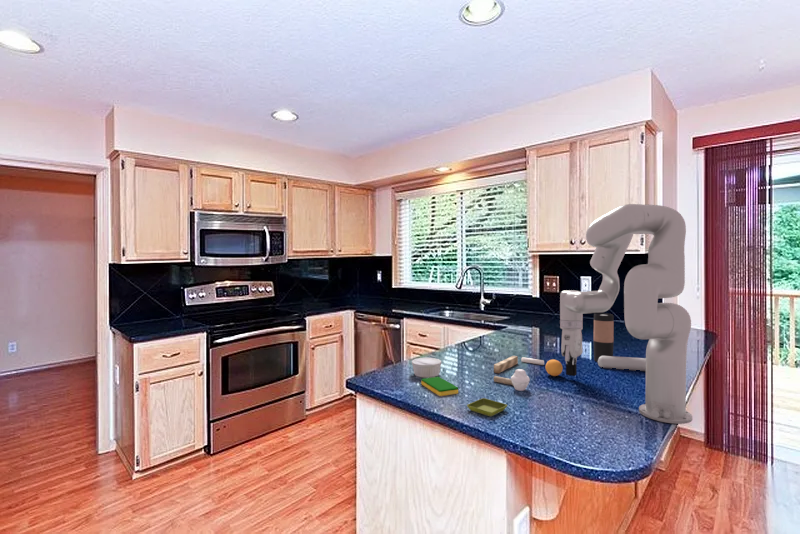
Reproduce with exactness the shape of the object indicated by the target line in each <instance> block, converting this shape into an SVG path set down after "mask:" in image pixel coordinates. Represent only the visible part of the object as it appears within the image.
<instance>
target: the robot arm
mask: <svg viewBox="0 0 800 534" xmlns="http://www.w3.org/2000/svg"><path fill="white" fill-rule="evenodd" d="M686 227H687V226H686V221H685V219H684V217H683V215H682V214H681V213H680V212H679V211H678V210H676V209H675V208H671V207H670V206H664V205H661V204H660V205H658V204H639V203H636V204H635V203H629V204H627V203H626V204H623V205H620V206H618V207H616V208H614V209H613V210H611V211H609V212H607V213H606V214H603V215H601V216H600V217H598V218H597V219H595V220H593V222H591V223H590V225H589V226H588V227H587V229H586V232H585V240H586V242H587V244H589V246H590V247H593V248H594V252H593V254H592V257H591V259H590V260H589V264H590V266H591V268H592V269H594V270H595V271H596V272H598V273H599V274H602V281H601V284H600V286H599V288H598V290H591V291H589V290H588V291H580V290H574V289H573V290H572V289H571V290H570V289H569V290H567V289H566V290H562V291H560V293H559V296H560V297H559V299H560V300H559V302H560V303H559V311H560V312H559V319H560V320H559V324H560V326H559V328H560V329H561V330H562V331H561V346H560V347H561V349H560V350H561V356H562V357H564V361H565V374H566V375H567V376H572V377H575V376H577V362H578V360H577V359H578V357H580V356H581V355H582V354H583V352H584V350H583V334H582V330H583V327H584V326H583V321H584V320H583V319H584V318H583V316H584V315H583V314H586V315H587V314H595V313H605V312H607V311H609V310H610V309H611V308H612V307H613V305H614V303H615V301H616V299H617V297H618V295H619V292H620V289H621V287H620V277H619V274H618V269H619V267H620V265H621V264H622V263H621V262H623V259H624V256H625V254H626V252H627V250H628V248H629V246H630V244H631V241H632V240H633V236H634V235H652V236H653V237H652V239H651V241H650V243H649V246H648V250H647V255H648V258H647V263H646V264H638V265H635V266H633V267H632V268H631V269H630V270H629V271H628V272H627V274H626V275H625V279H624V283H623V285H624V286H623V308H624V309H623V313H624V324H625V327H626V330H627V332H628V334H630V335H631V336H632V337H633V338H635V339H639V340H648V342H647V344H646V350H645V358H646V371H645V395H644V396H645V403H643V404H641V405H639V407H638V412H639V413H640V414H641V415H642V416H643V417H646V418H648V419H650V420H654V421H657V422H660V423H665V424H673V425H674V424H675V425H684V424H689V423H691V422H692V421H693V415H692V413H690V412H689V411H687V410H686V404H687V403H686V402H687V399H686V396H687V355H688V354H687V353H688V342H689V336H690V333H691V328H692V319H691V315H690V313H689V311H687V309H686V308H685V307H683V306H682V305H679V304H677V303H674V302H658V301H659V299H671V298H676V297H677V296H678V297H679V296H680V295H681V294H682V293H683V291H684V289H685V285H686V284H685V283H686V282H685V281H686V280H685V279H686V277H685V275H686V273H685V271H686V268H685V267H686V265H685V263H686V262H685V259H686V258H685V244H686V243H685V242H686V235H687V234H686V232H687V228H686Z"/></svg>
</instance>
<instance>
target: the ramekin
mask: <svg viewBox="0 0 800 534" xmlns="http://www.w3.org/2000/svg"><path fill="white" fill-rule="evenodd" d="M411 365H412V369H413V374H414V375H415V376H416V377H418V378H421V379H425V378H432V377H439V375H440V372H441V366H442V360H441V359H439V358H434V357H420V358H419V357H418V358H415V359H412V361H411Z"/></svg>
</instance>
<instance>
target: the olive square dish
mask: <svg viewBox="0 0 800 534" xmlns="http://www.w3.org/2000/svg"><path fill="white" fill-rule="evenodd" d="M466 406H467V408H468V409H469V410H470V411H472V412H474V413H478V414H481V415H484V416H488V417H493V416H495V415H497V414H500V413H501V412H503V411H505V410H506V408H507V407H508V404H506V403H503V402H499V401H496V400H493V399H489V398H486V397H485V398H483V397H482V398H480V399H478V400H475V401H473V402H470V403H467V404H466Z"/></svg>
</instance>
